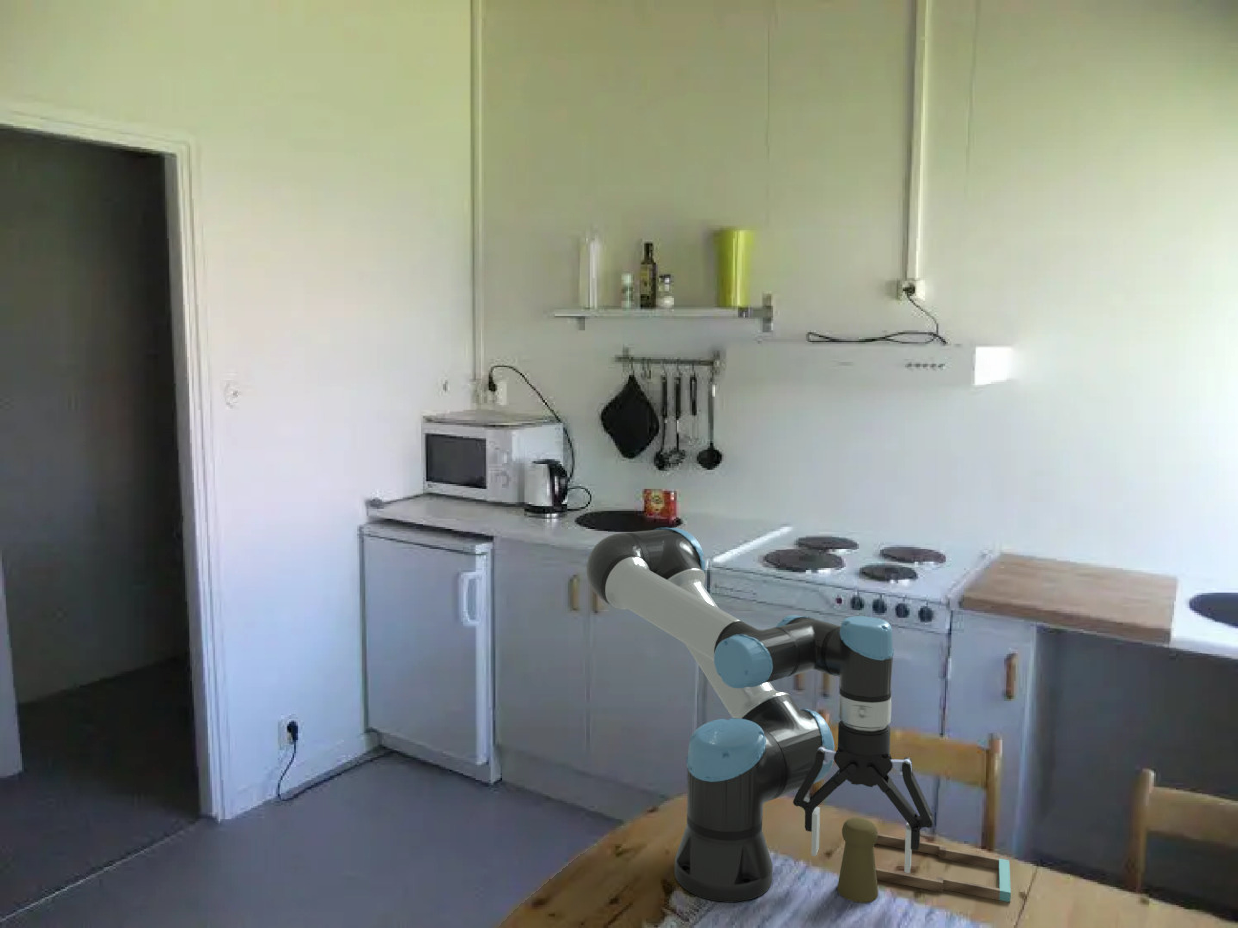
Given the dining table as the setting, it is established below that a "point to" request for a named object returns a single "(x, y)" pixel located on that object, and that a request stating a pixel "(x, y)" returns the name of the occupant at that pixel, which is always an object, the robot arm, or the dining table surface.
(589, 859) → the dining table surface
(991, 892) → the keyhole track
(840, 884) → the cork
